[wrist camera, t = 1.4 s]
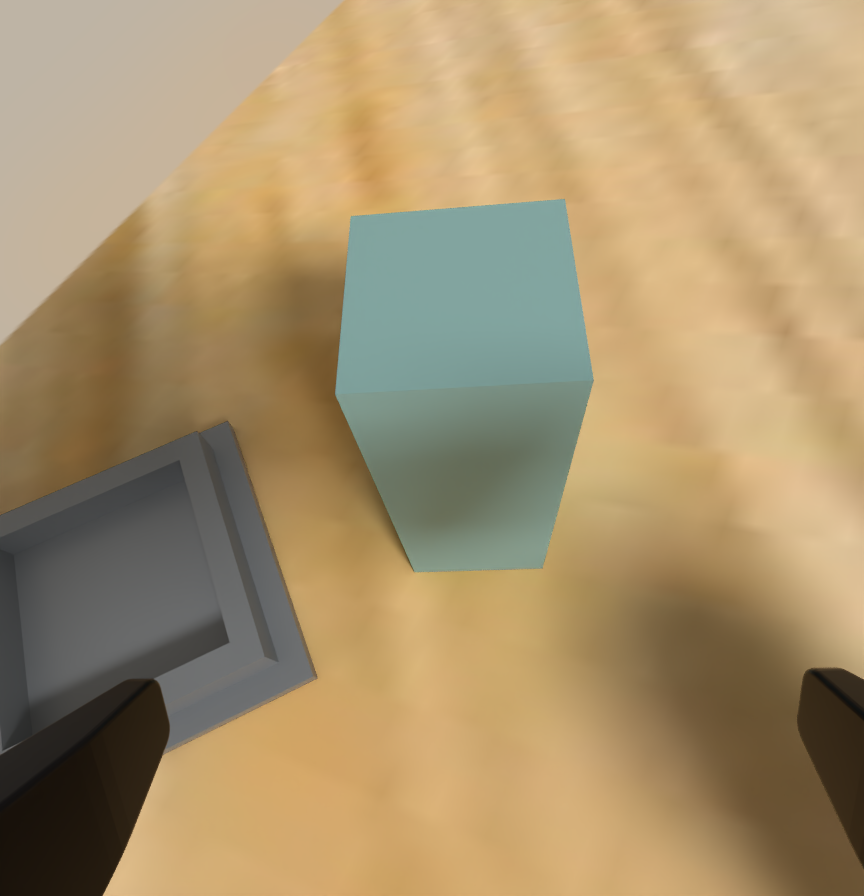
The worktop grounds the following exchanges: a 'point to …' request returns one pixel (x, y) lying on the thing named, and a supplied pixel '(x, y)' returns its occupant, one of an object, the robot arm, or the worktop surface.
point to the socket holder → (147, 593)
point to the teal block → (466, 376)
